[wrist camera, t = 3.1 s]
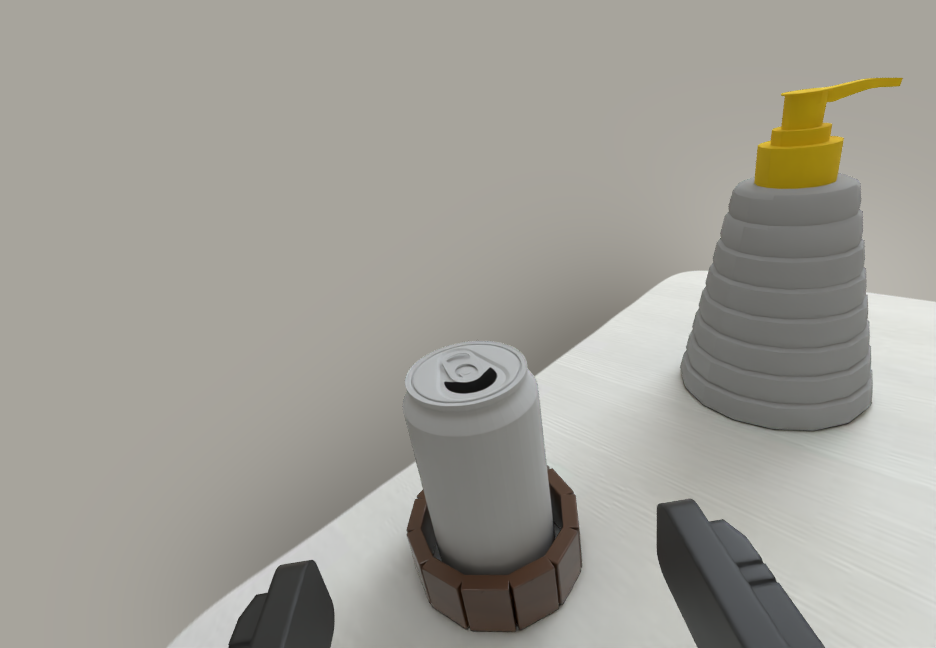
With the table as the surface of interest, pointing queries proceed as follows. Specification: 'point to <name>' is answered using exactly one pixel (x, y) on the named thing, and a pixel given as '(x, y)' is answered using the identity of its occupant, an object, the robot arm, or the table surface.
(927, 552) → the table surface
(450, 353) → the beverage can
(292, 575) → the robot arm
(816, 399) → the soap bottle
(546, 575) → the can holder
